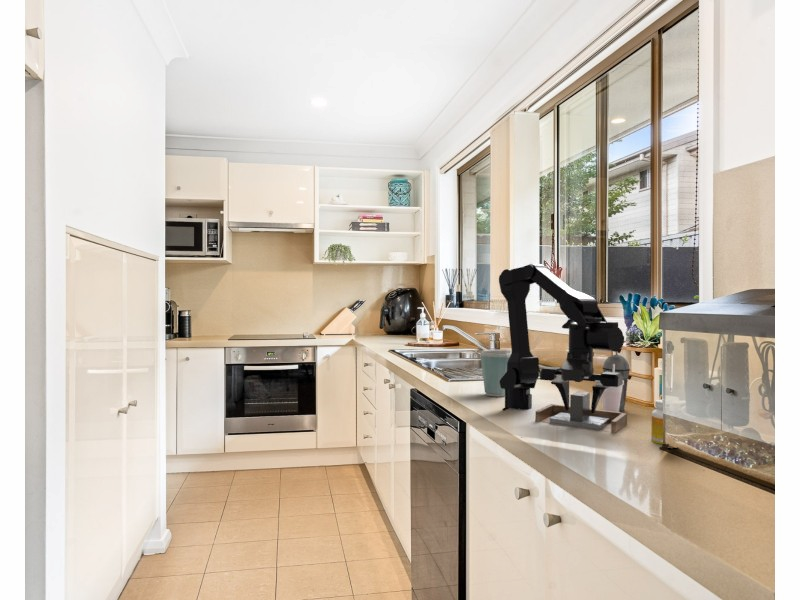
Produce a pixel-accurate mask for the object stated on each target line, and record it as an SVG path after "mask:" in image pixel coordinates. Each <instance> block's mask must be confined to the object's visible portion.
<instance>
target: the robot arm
mask: <svg viewBox="0 0 800 600" xmlns="http://www.w3.org/2000/svg"><path fill="white" fill-rule="evenodd" d="M498 284H499V289H500V293H501V294H502V295H503V297H504V299H505V300H506V302H507V312H508V323H509V325H508V326H509V336H510V346H511V348H510V349H511V350H512V353H511V355H510V358H509V360H508V362H507V372H506V373H505V375H504V376H503V377H502V378H501V379H500V381H499V382H500V386H501V388H502V389H505V396H504V407H503V408H502V409H501V410H502V411H505V412H506V410H509V409H512V410H513V409H514V410H530V409H533V405H532V404H533V395H532V394H531V389H535V388H536V384H537V381H538V379H539V380H541V381H549V382H550V381H551V382H550V383H551V385H554V387H556V388H557V389H558V392H559V393H560V396H561V400H562V403H563V406H565V409H566V410H569V406H570V382H575V383H582V382H583V381H585V382H586V381H587V382H588V381H589V382H594V383H595V385H592V386H591V387H592V397H591V407H590V409H591V413H594V412H595V409H596V410H597V406H598V405H599V402H600V400H601V398H602V397H601V395H602V394H603V392H604V390H605V389H607V388H609V387H619V386H620V385H622V384H623V376H622V374H621V373H617V372H601V373H600V374H599V373H594V370H595V369H594V357H595V351H594V350H597V351H605V352H613V353H614V352H615V353H616V352H617V351H618V352H619V351H620V350H621V349H622V348H623V346H624V344H625V336H624V334H623V331H622V329H621V328H619V322H618V321H607V319H606V318H605V316H604V315H603V313H602V311H601V309H600V308H599V305H598V304H599V302H598V301H597V300H596V298H594V297H592V296H590V295H588V294H586V293H584V292H581V291H578V290H575V289H573V288H571V287H570V286H569V285H568V284H566V283H565V282H564V281H563V280H561V278H559V277H557V276H556V275H555V274H553V273H552V272H551V271H550V270H549V269H547V267H546V266H545V265H543V264H542V263H541V264H539V263H529V264H527V265H524V266H520V267H517V268H512V269H510V268H509V269H507V268H506V269H504V270H502V272H501V273H500V274H499V276H498ZM533 284H536V285H537V286H538V287H540V288H541V289H542V290H543V291H544V292H546V293H547V294H548V295H549V296H551V298H553V299H554V300H555V301H556V302H557V303H558V304H559V309H560V310H561V311H562V313H563V314H564V315H565V317H566V318H567V321H566V322H565V323H563V324H562V326H561V328H562V329H567V330H568V351H567V355H566V360H565V361H564V362H563V364H562V365H561V366H560V367H555V366H546V367H543V368H541V369H540V365H539V364H540V359H539V356H534V355H533V354H532V352H531V348H530V338H529V337H530V336H529V327H528V326H529V325H528V316H527V315H528V313H527V304H526V301H527V297H528V295H529V293H530V291H531V289H530V288H531V285H533Z"/></svg>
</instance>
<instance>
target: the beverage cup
mask: <svg viewBox="0 0 800 600" xmlns="http://www.w3.org/2000/svg"><path fill="white" fill-rule="evenodd" d="M618 353H619V351H617V352H615V354H612V355H610V356H608V357H607V358H606V359H605V360H604V362H603V366H602V369H603V372H602V373H604V372H613V364H615V372H617V373H621V374H622V376H623V381H624V385H623V387H622V394H621V401H620V408H619V412H623V411H625V406H626V399H627V390H628V380H629V376H630V370H631V369H630V364H629V361H628V360H627V359H626V358H625V357H624V356H622V355H620V354H618Z"/></svg>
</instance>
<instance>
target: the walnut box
mask: <svg viewBox="0 0 800 600" xmlns="http://www.w3.org/2000/svg"><path fill="white" fill-rule="evenodd" d="M561 412H565V413H570V405H569V410H566V409H565V406H564V404H561V405H560V404H555V403H551V404H547V405H546V406H544V407H541V408H540V409H538V410H535V419H534V421H535V422H537V423H543V424H550V425H554V424H553V423H550V418H551V417H553V416H555V415H557V414H559V413H561ZM589 416H596V417H604V418H610V423H609V424H608V425H607V426H605V427H604V428H603V429H601V430H598V431H600V432H607V433H612V434H613V433H614V434H615V433H616V434H617V432H619V431H620V430H621V429H622V428H624V427H625V426H626V425H627V424H628V413H627V412H621V411H619V412H612V411H604V410H603V409H597V408H596V409H595V412H594V413H591V408H590V415H589ZM556 425H558V426H561V425H560V424H556ZM564 426H566V427H568V426H567V425H563V427H564ZM570 427H571V428H575V427H574V426H570ZM577 428H578V429H582V428H581V427H577ZM584 429H587V430H589V429H588V428H584ZM591 430H593V431H596V430H595V429H591Z"/></svg>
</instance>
